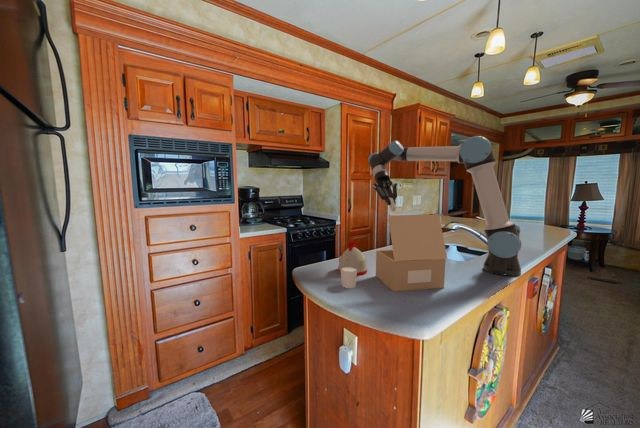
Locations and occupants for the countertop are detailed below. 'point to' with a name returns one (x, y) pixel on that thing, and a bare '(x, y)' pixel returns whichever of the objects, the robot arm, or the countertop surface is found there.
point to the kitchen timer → (353, 259)
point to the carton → (409, 272)
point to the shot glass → (348, 277)
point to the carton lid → (417, 237)
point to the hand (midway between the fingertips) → (393, 209)
